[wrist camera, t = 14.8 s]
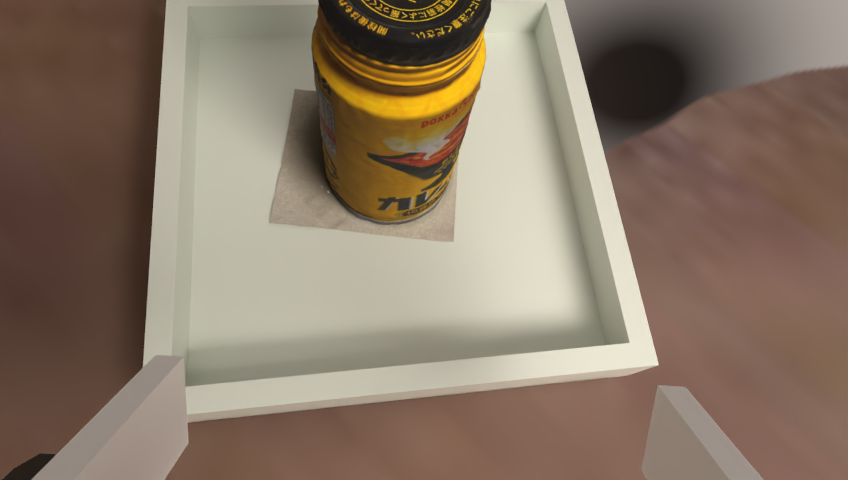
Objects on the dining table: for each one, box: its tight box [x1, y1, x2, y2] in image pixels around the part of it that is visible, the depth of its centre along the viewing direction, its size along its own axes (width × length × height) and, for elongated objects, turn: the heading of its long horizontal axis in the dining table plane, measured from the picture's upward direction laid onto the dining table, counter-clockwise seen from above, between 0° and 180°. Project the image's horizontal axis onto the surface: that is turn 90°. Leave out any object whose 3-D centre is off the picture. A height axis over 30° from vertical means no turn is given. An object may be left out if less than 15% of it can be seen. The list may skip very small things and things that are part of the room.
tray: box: [143, 0, 659, 423], centre depth 27 cm, size 20×20×3 cm
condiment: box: [270, 0, 492, 242], centre depth 22 cm, size 7×8×12 cm
